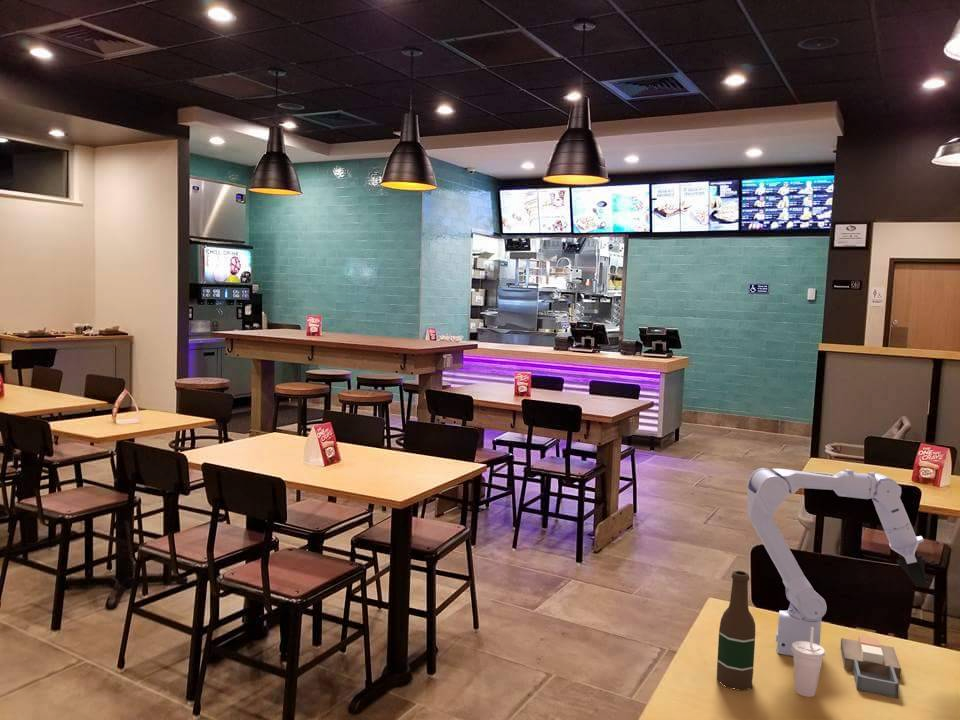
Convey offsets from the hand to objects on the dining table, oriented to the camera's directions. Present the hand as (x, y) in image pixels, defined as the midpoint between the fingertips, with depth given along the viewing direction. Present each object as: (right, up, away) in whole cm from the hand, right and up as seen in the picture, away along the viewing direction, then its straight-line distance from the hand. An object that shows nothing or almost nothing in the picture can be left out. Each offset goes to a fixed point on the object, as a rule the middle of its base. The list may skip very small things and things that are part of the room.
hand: (918, 578), depth 167 cm
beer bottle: (-47, -19, -12) cm, 52 cm away
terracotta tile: (-11, -16, 0) cm, 20 cm away
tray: (-16, -20, -11) cm, 27 cm away
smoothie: (-33, -20, -15) cm, 41 cm away
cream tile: (-13, -17, -4) cm, 22 cm away
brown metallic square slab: (-12, -19, -1) cm, 23 cm away
